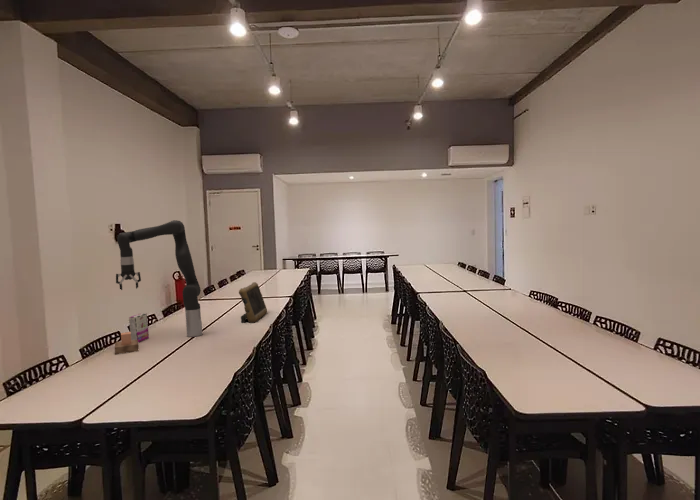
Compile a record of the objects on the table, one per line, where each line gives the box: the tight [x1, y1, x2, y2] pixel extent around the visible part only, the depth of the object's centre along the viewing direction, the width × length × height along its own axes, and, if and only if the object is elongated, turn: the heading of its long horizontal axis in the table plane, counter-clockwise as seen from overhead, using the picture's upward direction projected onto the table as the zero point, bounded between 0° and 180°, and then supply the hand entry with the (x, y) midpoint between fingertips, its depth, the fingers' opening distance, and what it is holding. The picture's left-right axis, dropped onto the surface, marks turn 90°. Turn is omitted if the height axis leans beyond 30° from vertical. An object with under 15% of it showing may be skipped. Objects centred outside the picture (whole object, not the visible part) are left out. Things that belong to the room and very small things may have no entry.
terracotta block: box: [120, 331, 131, 345], centre depth 261 cm, size 5×5×6 cm
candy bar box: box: [128, 312, 150, 343], centre depth 281 cm, size 11×5×16 cm, turn 168°
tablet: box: [238, 281, 268, 324], centre depth 333 cm, size 33×14×25 cm, turn 179°
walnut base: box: [114, 339, 139, 355], centre depth 262 cm, size 12×12×4 cm
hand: (129, 289), depth 285 cm, fingers open, 8 cm apart
